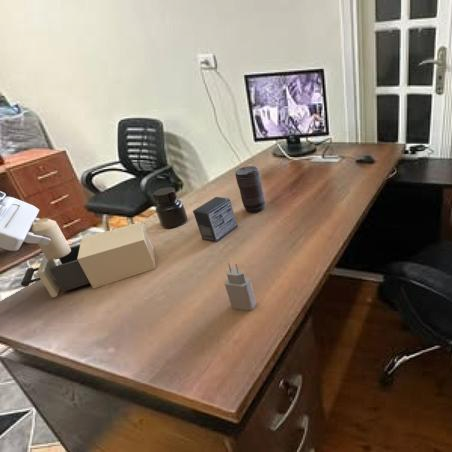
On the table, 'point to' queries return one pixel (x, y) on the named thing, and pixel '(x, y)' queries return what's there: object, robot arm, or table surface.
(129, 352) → the table surface
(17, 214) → the robot arm
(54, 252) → the candle
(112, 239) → the cabinet
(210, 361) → the table surface
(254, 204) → the camera lens
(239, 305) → the power adapter
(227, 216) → the small box
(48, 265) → the drawer
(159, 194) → the ink bottle
